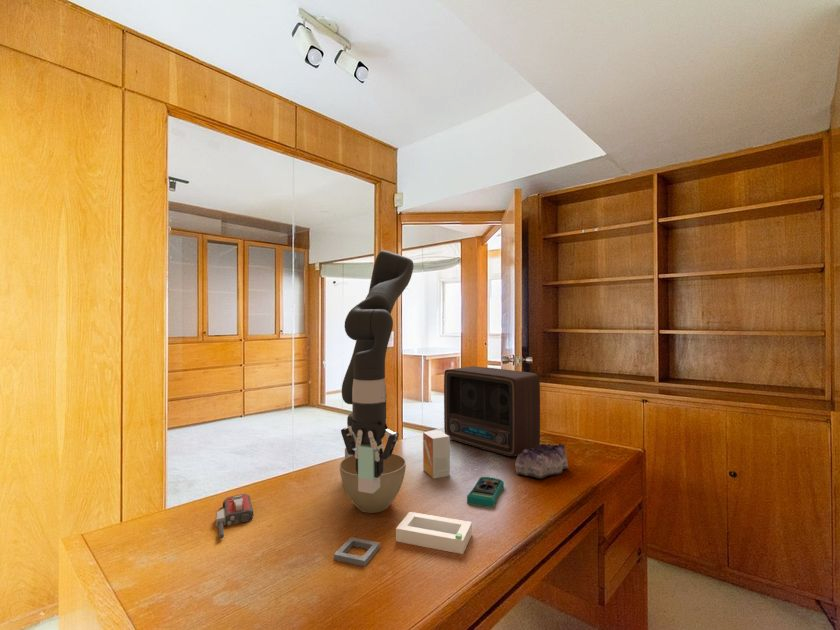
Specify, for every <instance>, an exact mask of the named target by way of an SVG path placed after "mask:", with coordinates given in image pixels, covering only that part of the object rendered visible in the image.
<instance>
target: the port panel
mask: <svg viewBox="0 0 840 630" xmlns="http://www.w3.org/2000/svg"><path fill="white" fill-rule="evenodd" d="M472 535H473V522H472V521H467V520H461V519H456V518H450V517H445V516H444V517H443V516H439V515H431V514H426V513H420V512H414V511H409V512H408V513H407V514H406V515H405V516H404V518H403V519H402V521H400V523H399V524H398V525H397V527H396V528H395V541H396V542H397V543H403V544H407V545H413V546H418V547H419V546H420V547H423V548H430V549H435V550H439V551H445V552H449V553H455V554H461V555H464V553H465V550H466V549H467V546H468V544H469V541H470V540H471V537H472Z"/></svg>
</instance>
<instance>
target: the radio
mask: <svg viewBox="0 0 840 630" xmlns="http://www.w3.org/2000/svg"><path fill="white" fill-rule="evenodd" d="M443 375H444V376H443V416H444V417H443V421H444V423H443V425H444V426H443V427H444V430H443V431H444V433H445V434H446V435H448V436H449V437H450V440H453V441H456V442H459V443H461V444H465V445H469V446H473V447H475V448H479V449H483V450H485V451H489V452H492V453H497V454H499V455H503V456H507V457H513V458H514V457H516V456H518V455H519V454H520V453H523V450H525V449H527V450H528V449H530V448H534V447H537V446H539V445H540V444H541V443H540V442H541V389H540V388H541V385H540V384H541V383H540V377H539V375H538V374H537V373H535V372H534V373H533V372H528V371H522V370H512V369H505V368H494V367H485V366H473V365H472V366H463V367H458V368H450V369H446V370H445V371H444V374H443Z"/></svg>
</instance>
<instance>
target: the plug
mask: <svg viewBox="0 0 840 630" xmlns="http://www.w3.org/2000/svg"><path fill="white" fill-rule="evenodd" d="M377 445H378V444H377ZM374 461H376V460H375V457H374V451H373V448H371V445H369V444H362V445H361V446H358V491H360V492H366V493H372V494H373V493H374V492H375V491H376V490H378V489H379V488H380V476H379V477H378V478H375V477H374Z"/></svg>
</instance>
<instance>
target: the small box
mask: <svg viewBox="0 0 840 630" xmlns="http://www.w3.org/2000/svg"><path fill="white" fill-rule="evenodd" d="M422 440H423V441H422V445H423V446H422V457H423V458H422V459H423V460H422V466H423V467H422V468H423V471H424V472H425V473H426V474H428V475H429V476H430V477H431V478H432V479H437V478H442V477H443V478H444V477H449V476H450V475H451V468H450V467H451V464H450V463H451V456H450V454H451V453H450V451H451V450H450V449H451V447H450V440H451V439H450V437H449V436H448V435H446V434H445V432H443V431H441V430H440V429H439V430H430V431H425V432H422Z"/></svg>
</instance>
